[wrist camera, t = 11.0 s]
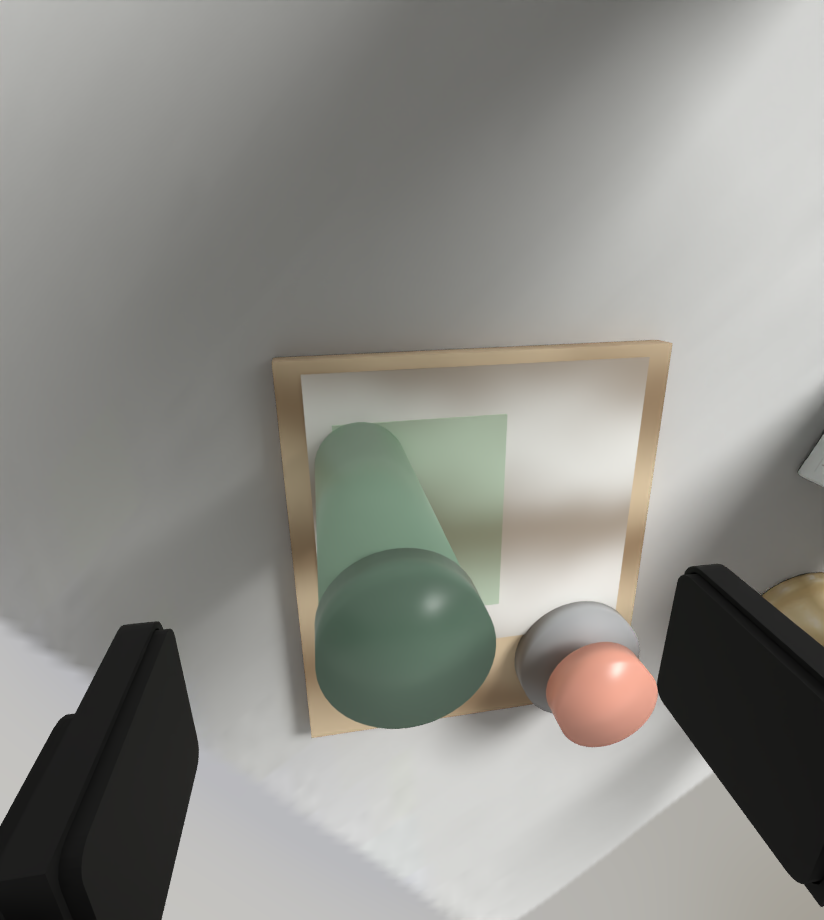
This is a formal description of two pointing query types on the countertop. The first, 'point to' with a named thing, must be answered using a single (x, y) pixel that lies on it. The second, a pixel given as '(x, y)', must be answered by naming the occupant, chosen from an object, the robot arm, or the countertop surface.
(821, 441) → the supplement box
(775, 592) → the hand bell
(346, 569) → the green cylinder
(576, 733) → the button
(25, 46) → the countertop surface
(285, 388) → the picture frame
